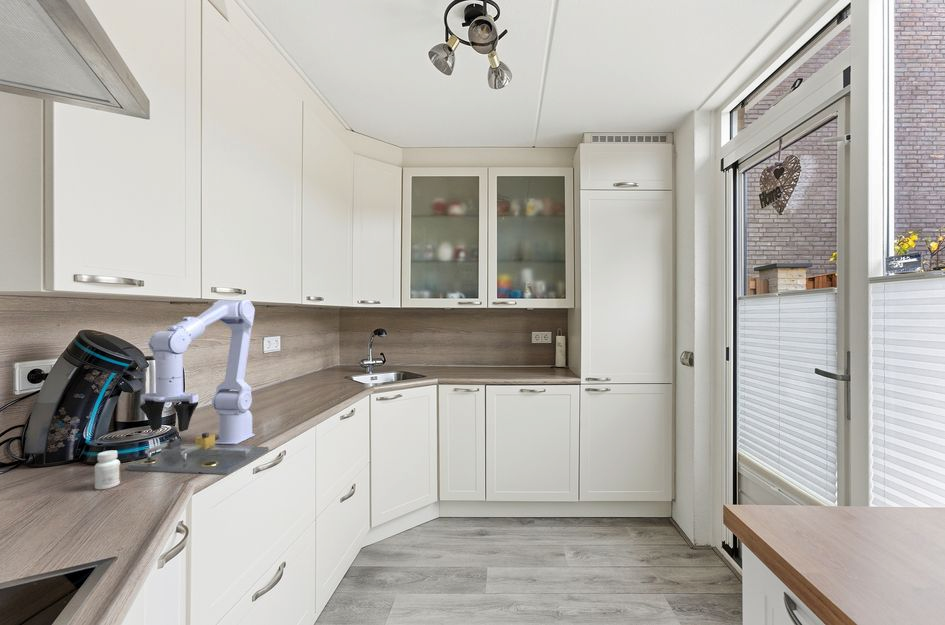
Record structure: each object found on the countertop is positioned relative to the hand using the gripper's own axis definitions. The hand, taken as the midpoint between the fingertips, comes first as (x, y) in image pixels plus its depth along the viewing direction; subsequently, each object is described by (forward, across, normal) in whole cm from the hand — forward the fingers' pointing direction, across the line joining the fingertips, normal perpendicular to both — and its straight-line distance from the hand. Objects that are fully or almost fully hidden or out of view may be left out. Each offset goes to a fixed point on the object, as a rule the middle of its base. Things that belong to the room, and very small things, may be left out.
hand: (169, 430), depth 106 cm
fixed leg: (+8, -6, +5) cm, 11 cm away
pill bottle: (+10, -5, -11) cm, 16 cm away
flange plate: (+10, +4, +6) cm, 12 cm away
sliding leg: (+8, +4, +5) cm, 10 cm away
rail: (+9, +4, +8) cm, 12 cm away
